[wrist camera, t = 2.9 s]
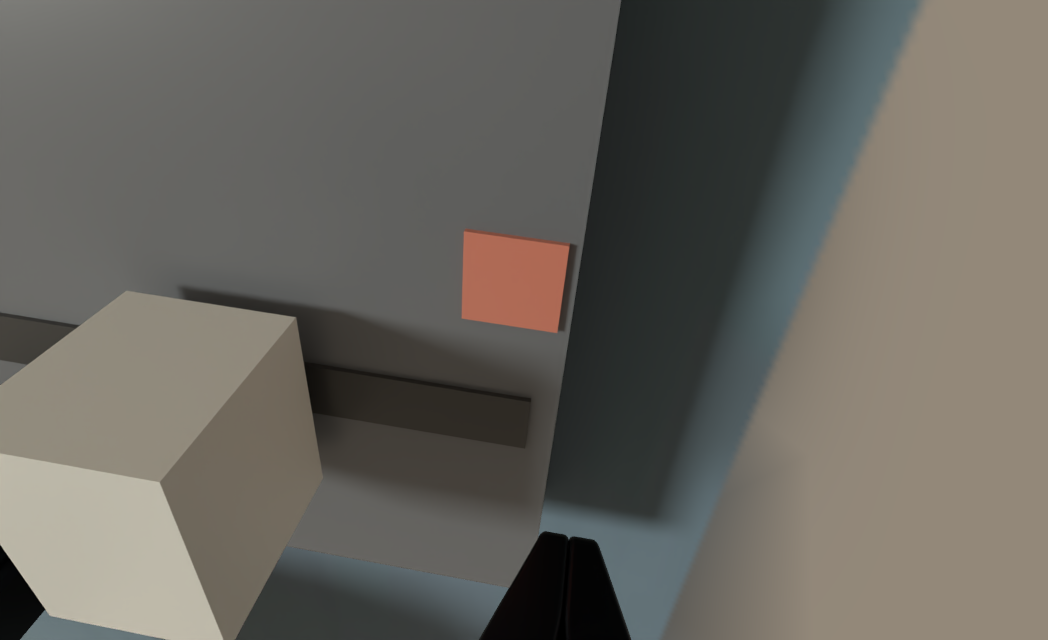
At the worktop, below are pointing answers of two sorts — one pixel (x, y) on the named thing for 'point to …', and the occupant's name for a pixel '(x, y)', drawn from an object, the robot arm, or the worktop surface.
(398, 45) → the grey slider switch panel
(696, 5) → the worktop surface
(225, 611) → the cream matte cube
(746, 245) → the worktop surface
